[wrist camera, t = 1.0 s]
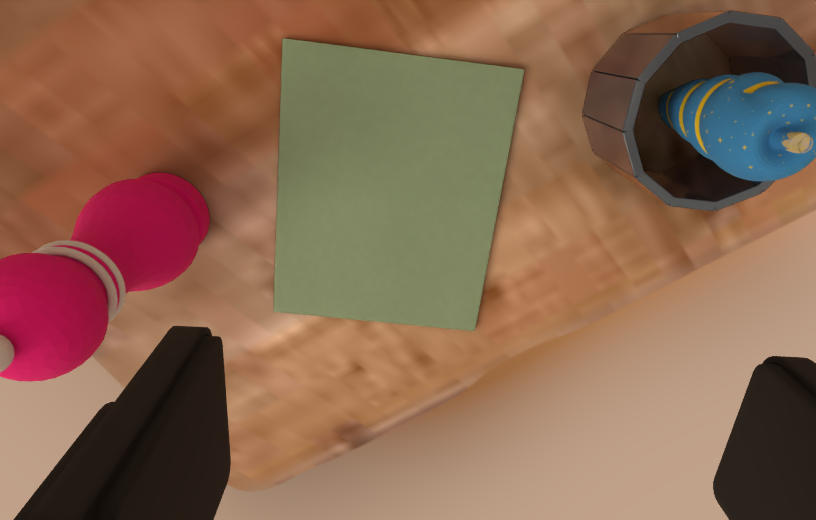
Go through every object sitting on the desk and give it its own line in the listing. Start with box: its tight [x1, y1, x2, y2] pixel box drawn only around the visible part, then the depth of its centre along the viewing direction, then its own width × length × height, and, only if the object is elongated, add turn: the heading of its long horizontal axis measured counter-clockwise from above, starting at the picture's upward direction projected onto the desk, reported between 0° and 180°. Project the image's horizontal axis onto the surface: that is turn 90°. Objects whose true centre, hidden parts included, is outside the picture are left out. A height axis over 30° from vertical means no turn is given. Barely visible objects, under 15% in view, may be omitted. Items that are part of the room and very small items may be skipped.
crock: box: [582, 10, 816, 211], centre depth 35 cm, size 11×11×8 cm
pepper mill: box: [0, 173, 209, 381], centre depth 31 cm, size 7×7×20 cm
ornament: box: [658, 72, 816, 181], centre depth 31 cm, size 5×5×15 cm
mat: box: [274, 38, 524, 331], centre depth 40 cm, size 20×16×1 cm
